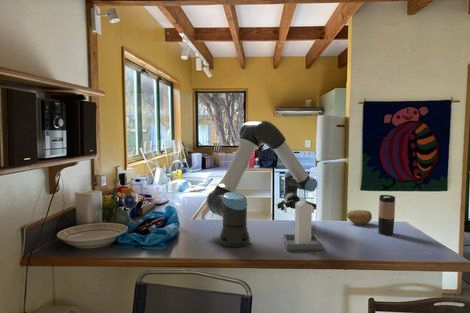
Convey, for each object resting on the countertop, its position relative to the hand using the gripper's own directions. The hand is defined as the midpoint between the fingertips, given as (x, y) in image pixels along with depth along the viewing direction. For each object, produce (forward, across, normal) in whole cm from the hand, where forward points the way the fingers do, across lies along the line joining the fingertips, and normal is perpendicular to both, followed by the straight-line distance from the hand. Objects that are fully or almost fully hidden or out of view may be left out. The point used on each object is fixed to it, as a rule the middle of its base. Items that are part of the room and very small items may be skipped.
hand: (299, 210), depth 160 cm
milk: (+10, 0, -14) cm, 17 cm away
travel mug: (-11, -48, -15) cm, 51 cm away
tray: (+10, 0, -15) cm, 17 cm away
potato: (-28, -40, -15) cm, 51 cm away
